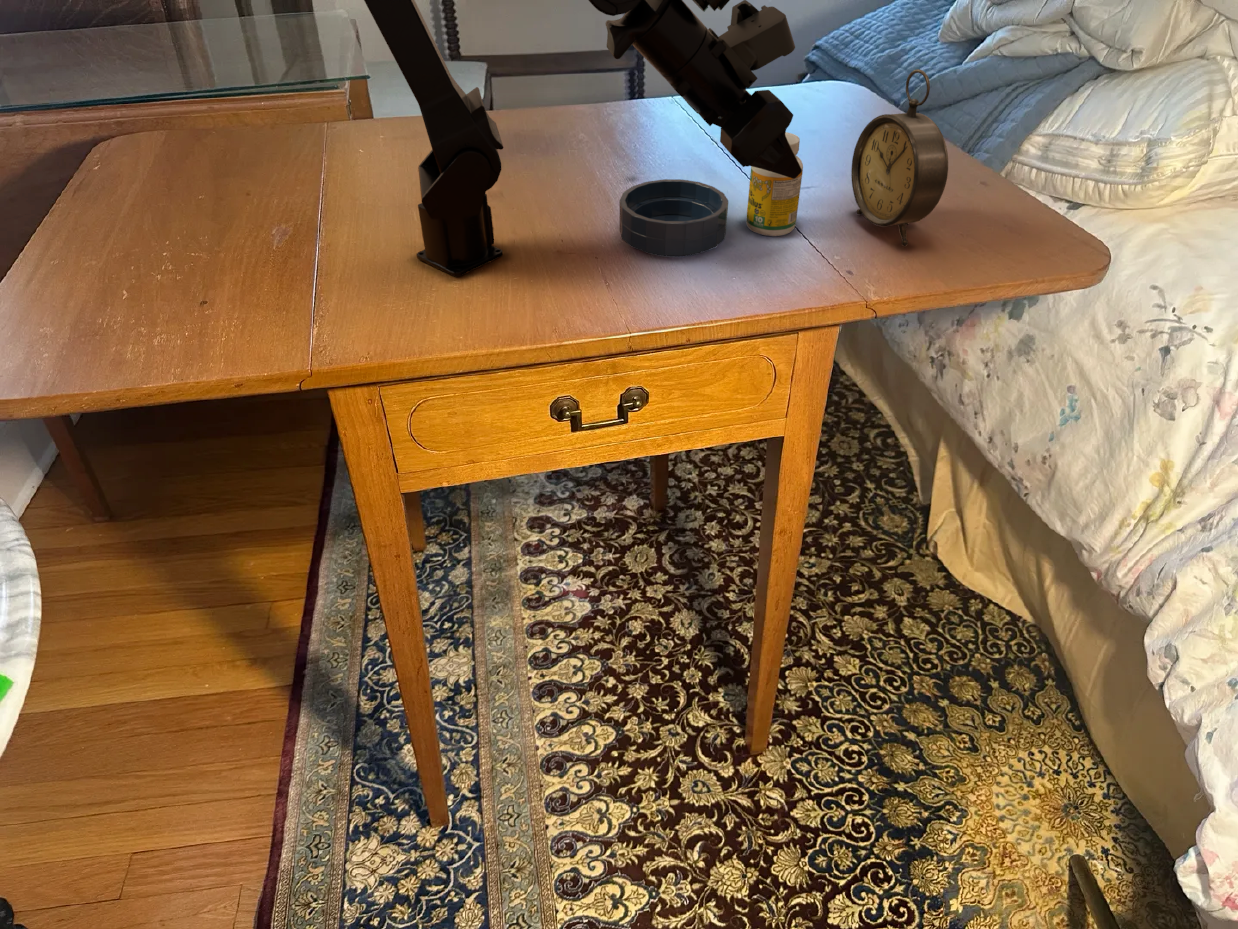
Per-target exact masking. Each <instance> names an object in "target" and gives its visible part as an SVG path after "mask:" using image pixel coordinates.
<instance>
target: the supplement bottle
mask: <svg viewBox="0 0 1238 929" xmlns="http://www.w3.org/2000/svg"><path fill="white" fill-rule="evenodd" d="M785 136H786V138H787V141H788V143H789V145H790V147H791V149H792V151H793V153H794V155H795V157H796V159H797V161H798V163H799V165H800V167H801V169H802V172H801V173H800V174H799V175H798V176H797V177H796V178H795V179H793V178H790V177H786V176H783V175H780V174H777V173H774V172H771V171H767V170H764V169H760V168H756V167H752V166H750V175H749V184H748V185H749V187H748V197H747V210H746V218H745V224H746V227H747V228H748V229H749V230H750V231H752V232H753V233H755V234H758V235H761V236H766V237H780V236H785V235H788V234H790V233H791V232H792V231H794V229H795V228H796V226H797V225H796V224H797V218H798V209H799V201H800V196H801V195H800V194H801V186H802V180H803V179H802V178H803V172H804V163H803V161H802V159H801V158H800V157H799V156H798V153H799V151H800V142H801V141H800V137H799V135H796V134H795V133H791V132H787V131H786V132H785Z"/></svg>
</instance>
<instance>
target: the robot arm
mask: <svg viewBox="0 0 1238 929" xmlns="http://www.w3.org/2000/svg"><path fill="white" fill-rule="evenodd" d="M363 1H364V3H365V5H366V7H367V9H368V10H369V12H370V15H371V17H372V18H373V20H374V23H375V24H376V26H377V28H378V30H379V32H380V34H381V36H382V38H383V39H384V41H385V44H386V45H387V47H388V49H389V51H390V52H391V55H392V56H393V58H394V61H395V62H396V65H397V66H398V68H399V70H400V72H401V74H402V75H403V77H404V79H405V81H406V83H407V85H408V87H409V89H410V90H411V93H412V95H413V97H414V98H415V101H416V102H417V105H418V108H419V110H420V113H421V117H422V120H423V123H424V127H425V130H426V133H427V137H428V140H429V144H430V146H431V150H430V151H429V152H428V153H427V155H426V156H425V158H424V159H423V160H422V161H421V162H420V164H419V165H418V167H417V170H418V180H419V189H420V200H421V203H418V204H417V208H418V215H419V223H420V228H421V234H422V240H423V246H424V249H422V250H421V251H418V252H416V258H417V259H418V260H419V261H421V262H423V263H425V264H426V265H429V266H432V267H433V268H436V269H438V270H440V271H442V272H444V273H446V274H448V275H451V276H452V277H455V278H456V277H462V276H463V275H465V274H468V273H469V272H471V271H474V270H475V269H478V268H480V267H482V266H485V265H486V264H488V263H490V262H491V263H492V262H493V261H495V260H497V259H499V258H501V257H502V256H504V251H503V249H501V248H500V247H496V246H494V244H495V236H494V235H495V234H494V225H493V217H492V216H493V215H492V207H491V206H490V205H489V203H488V194H487V191H489V190H491V189H492V188H493V187H494V185H496V183H497V181H498V180H499V178H500V174H501V172H502V161H501V157H500V154H499V151H498V150H500V151H501V150H503V149H504V144H503V141H502V138H501V135H500V132H499V128H498V125H497V123H496V121H495V120H494V119H492V117H490V115H489V114H488V111H487V110H486V107H485V105H484V102H483V98H482V94H481V91H480V88H479V87H478V86H476V87H475V88H473V89H472V90H471V91H469V92H467V93H466V92H465V90H463V89H462V87H461V86H460V84H458V82H456V80H455V79H454V77H453V76H452V74H451V72H450V70H449V68H448V66H447V64H446V61H445V59H444V58H443V56H442V55H443V54H441V51H440V50H439V47H438V45H437V43H436V42H435V39H434V37H433V35H432V33H431V30H430V29H429V27H428V25H427V23H426V21H425V19H424V16H423V14H422V13H421V11H420V8H419V6H418V4H417V3H416V0H363ZM691 1H692V2H693V3H694V4H695V5H696V6H697V7H698V8H699V9H700V10H701V11H702V12H703V13H704V12H706V11H707V10H708V9H709V8H711V10H713V12H715V11H717V9H718V10H719V11H722V10H723V9H724V8H725V7H726V5H727V4H728V3H729V2H730V1H731V0H691ZM588 2H589V3H590V4H591V5H592V6H593V7H594V8H595V9H596V10H597V11H599V12H600V13H602V14H604V15H606V16H612V17H615V16H619V15H622V17H621V18H618V19H612V20H611V19H608V20H606V21H605V27H606V32H607V34H606V35H607V38H606V48H607V50H608V51H609V52H610V54H611V55H612V57H613V58H614V60H620V59H622V57H623V56H624V55H625V54H626V52H628V50H629V49H630V48H631V47H632V46H633V47H634V48H635V50H637V52H638V53H639V54H641V56H642V57H643V58H644V59H645V60H646V61H647V62H648V63H649V64H650V65H651V66H652V67H653V68H654V70H656V72H657V73H659V74H660V75H661V77H663V78H664V80H665V81H666V82H667V83H668V84H669V85H670V86H671V87H672V89H673V90H674V91H675V92H676V93H677V94H678V95H679V96H680V97H681V98H682V99H683V100H684V102H686V104H687V105H688V106H689V107H690V108H691V109H692V110H693V111H694V112H695V113H696V114H698V115H699V117H701V119H702V120H703V121H704V122H705V123H706V124H707V125H708V127H711V126H712V125H715V126H717V127H719V128H720V135H719V136H720V137H719V143H720V144H721V145H722V146H723V147H724V148H725V149H726V151H727V152H728V153H729V155H731V157H732V158H734V159H735V160H736V161H737V163H738V164H739V165H741V167H742V168H745V167H751V166H752V167H756V168H760V169H764V170H767V171H771V172H774V173H777V174H780V175H783V176H786V177H790V178H793V179H795V178H796V177H797V176H798V175H799V174H800V173H801V172H802V169H801V167H800V165H799V163H798V161H797V159H796V157H795V155H794V153H793V151H792V149H791V147H790V145H789V143H788V141H787V138H786V136H785V132H787V129H788V128H789V126H790V125H791V123H792V121H793V118H794V113H793V112H792V111H791V110H790V109H789V108H788V106H787V105H785V103H784V102H783V101H782V100H781V99H780V98H779V97H777V95H775V94H774V93H773V92H772V91H771V90H770V89H762V90H760V89H759V90H754V91H753V93H752V94H751V93H750V92H749V91H748V90H747V89H750V88H751V86H752V85H753V84H754V83H755V82H756V81H757V80H758V77H757V76H756V74H755V73H754V71H756V70H760V69H761V68H763V67H765V66H766V65H768V64H770V63H772V62H774V61H775V60H778V59H779V58H780V57H787V56H788V55H791V54H792V53H793V52H794V51H795V50H796V45H795V41H794V38H793V35H792V32H791V28H790V24H789V22H788V18H787V15H786V14H785V13H784V12H783V11H781V10H779V9H778V8H776V7H775V6H766V4H765V5H762V6H761V7H760V10H759V9H758V8H756V7H755V6H754V5H753V4H752V3H751V2H749V1H748V0H741V1H740V2H738V3H737V4H735V5H733V6H732V7H731V16H730V17H731V18H730V24H729V25H728V26H727V31H725V32H723V33H722V34H720V35H718V34H716V32H715V31H714V30H713V29H712V28H711V27H709V28H708V27H707V26H705V24H704V23H703V22H702V20H701V19H700V18H699V17H698V16H697V15H696V14H695V13H694V12H693V11H692V9H691V8H690V7H689V6H688V5H687V4H686V2H685V1H684V0H588Z"/></svg>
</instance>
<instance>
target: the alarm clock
mask: <svg viewBox="0 0 1238 929" xmlns="http://www.w3.org/2000/svg"><path fill="white" fill-rule="evenodd" d="M915 74H921V75H922V76H923V78H924V80H925V84H926V92H925V96H924V97H923V99H922V101H920V102H919V100H918V99H917V98H911V95H910V90H909V88H910V86H909V85H910V81H911V79H912V77H914V75H915ZM930 92H931V83H930V78H929V75H928V74H927V73H926V72H925V71H924V70H922V69H920V68H919V69H918V68H916V69H914V70H912V71H911V72H910V73H909V74H908V75H907V78H906V81H905V94H906V97H907V99H908V106H909V107H908V109H907V111H906V112H905V113H904V112H903V113H891V114H889V113H885V114H881V115H877V116H875V117H874V118H873V119H871V120H870V121H869V122H868V123H867V124H866V126H865V127H864V128H863V130H862V131H861V133H860V134H859V137H858V139H857V141H856V144H855V146H854V150H853V154H852V159H851V170H850V172H851V173H850V174H851V175H850V177H851V188H852V192H853V196H854V200H855V203H856V205H857V207H858V209H857V210H856V215H858V216H861V215H862V216H864V218H865V219H866V220H867V221H868V222H870V223H871V224H872V225H875V226H878V227H882V228H884V227H890V226H891V227H892V226H898V230H899V231H898V232H899V234H900V237H901V246H903V247H907V245H908V244H909V241H908V240H907V232H908V230H907V226H908V225H909V224H913V223H916V222H919V221H921V220H923V219H925V218H926V217H927V216H929V215H930V214H931V213H932V212H933V210H934V209H935V208H936V207H937V205H938V204H939V202H940V201H941V198H942V196H943V194H944V191H945V189H946V185H947V181H948V176H949V152H948V148H947V143H946V141H945V138H944V135H943V133H942V131H941V130H940V128H939V127H938V125H937V123H935V122H934V120H933V119H931V117H928V116H927V115H925V114H923V113H919V112H917V109H918V107H919V106H920V107H921V106H922V105H923V104H925V103H926V102H927V100H928V98H929V96H930Z"/></svg>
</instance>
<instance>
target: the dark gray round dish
mask: <svg viewBox="0 0 1238 929" xmlns="http://www.w3.org/2000/svg"><path fill="white" fill-rule="evenodd" d="M618 206H619V233H620V236H621V240H623V241H624V242H625V243H626V244H627V245H629V246H630V247H632V248H633V249H636V250H639V251H641V252H643V253H647V254H650V255H654V256H659V257H666V258H680V257H690V256H694V255H699V254H702V253H705V252H707V251H710V250H713V249H715V248H717V247H718V246H719V245H720V244H721V243H723V242H724V241H725V238H726V234H727V226H728V224H727V222H728V212H729V199H728V198H727V196H726V195H725V193H724V192H723V191H721V190H719V189H718V188H716V187H715V186H712V185H710V184H706V183H703V182H700V181H695V180H688V179H679V178H678V179H676V178H673V179H672V178H671V179H670V178H669V179H667V178H666V179H665V178H664V179H658V180H656V179H655V180H649V181H645V182H642V183H638V184H635V185H632V186H631V187H629V188H628V189H626V190H625V191H624V192H622V194H621V196H620V198H619V204H618Z"/></svg>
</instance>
